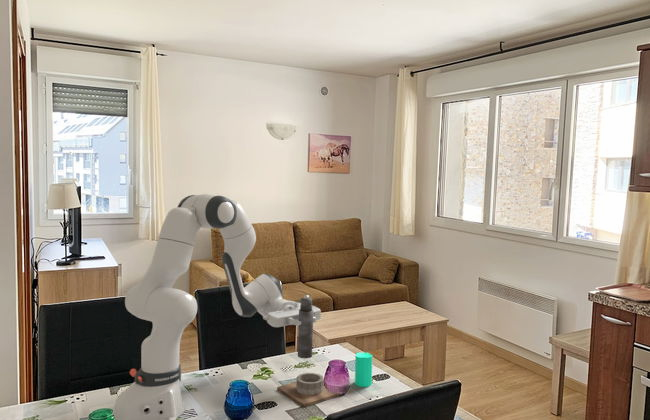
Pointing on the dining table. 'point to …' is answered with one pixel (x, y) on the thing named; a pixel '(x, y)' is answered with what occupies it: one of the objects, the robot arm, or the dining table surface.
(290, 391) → the ring holder
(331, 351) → the dining table surface
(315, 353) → the dining table surface
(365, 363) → the candle
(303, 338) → the pepper mill
